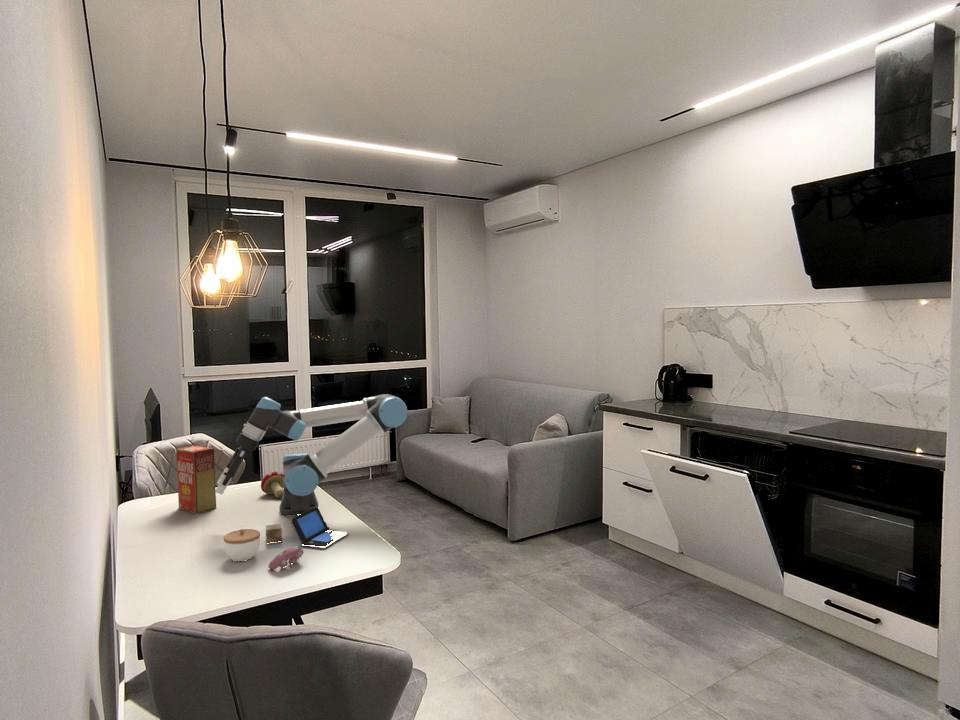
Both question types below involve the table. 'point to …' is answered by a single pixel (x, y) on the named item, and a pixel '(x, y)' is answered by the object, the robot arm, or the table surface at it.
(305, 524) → the handheld game console
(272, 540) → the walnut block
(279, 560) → the video game controller
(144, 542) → the table surface
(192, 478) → the food packaging
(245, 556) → the lidded jar
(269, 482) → the decorative mushroom
